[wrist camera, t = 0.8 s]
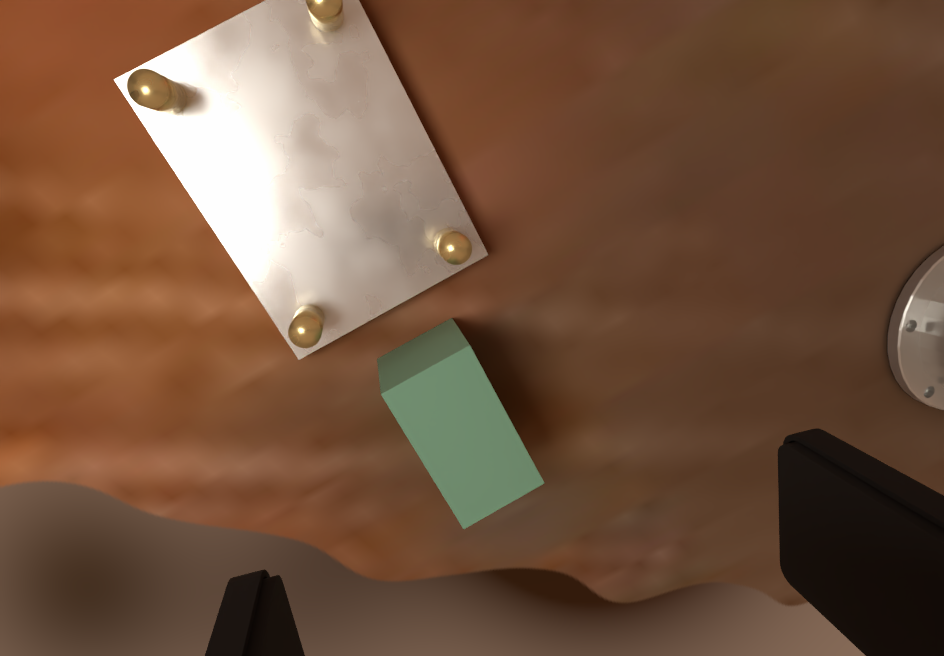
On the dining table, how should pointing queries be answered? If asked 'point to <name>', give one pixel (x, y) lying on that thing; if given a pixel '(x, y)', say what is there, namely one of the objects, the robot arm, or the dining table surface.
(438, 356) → the block
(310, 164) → the chassis plate
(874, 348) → the dining table surface
